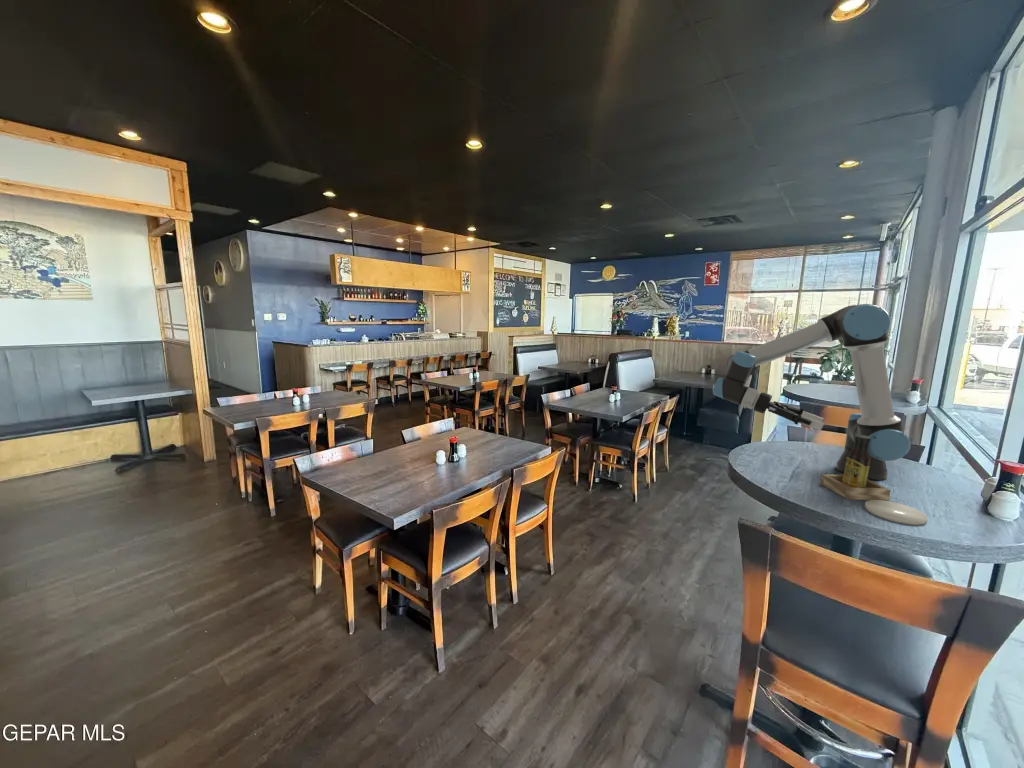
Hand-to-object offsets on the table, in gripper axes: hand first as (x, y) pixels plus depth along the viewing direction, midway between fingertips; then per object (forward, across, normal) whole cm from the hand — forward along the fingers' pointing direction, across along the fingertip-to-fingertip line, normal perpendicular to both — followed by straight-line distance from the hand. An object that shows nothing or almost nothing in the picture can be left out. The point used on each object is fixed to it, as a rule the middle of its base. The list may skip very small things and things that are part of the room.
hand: (822, 424), depth 144 cm
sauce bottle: (+16, -1, -18) cm, 25 cm away
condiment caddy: (+16, -1, -18) cm, 24 cm away
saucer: (+26, +12, -16) cm, 33 cm away
